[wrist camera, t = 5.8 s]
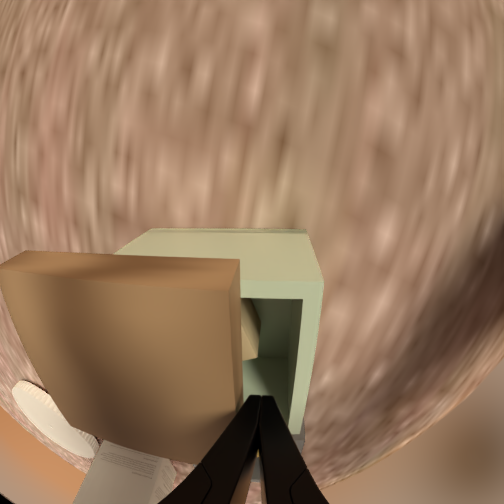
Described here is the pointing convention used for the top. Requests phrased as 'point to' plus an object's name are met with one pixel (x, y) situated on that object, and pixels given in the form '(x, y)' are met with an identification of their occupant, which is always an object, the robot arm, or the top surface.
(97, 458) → the skincare box
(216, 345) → the lid
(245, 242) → the pale green hollow box
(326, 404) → the top surface
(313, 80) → the top surface
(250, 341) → the cube
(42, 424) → the plastic lid
